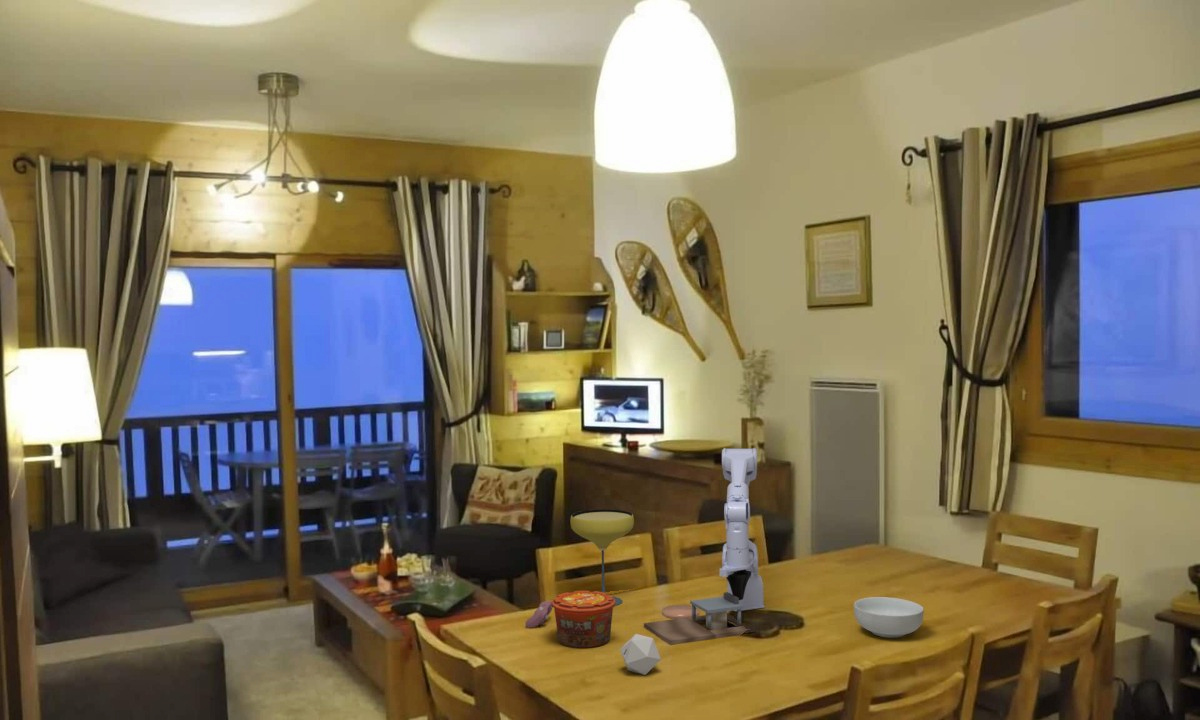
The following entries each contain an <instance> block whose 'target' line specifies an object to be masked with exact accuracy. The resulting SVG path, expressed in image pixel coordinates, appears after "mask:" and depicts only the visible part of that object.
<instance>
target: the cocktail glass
mask: <svg viewBox="0 0 1200 720" xmlns="http://www.w3.org/2000/svg"><path fill="white" fill-rule="evenodd" d="M569 521H570V528H571V530H572V531H573V532H574V533H575V534H577V535H578V536H580V537H581V538H583V539H586V540H587V541H590V542H591V543H592V544H594V545H595V546H596V547H597V549H598V550H600V551H601V591H600V592H604V593H607V592H606V586H605V585H606V583H605V582H606V581H605V550H607V548H609V545H611V544H612V543H613V542H615V541H616V540H618V539H620V538H622V537H624V536H625V535H627V534H628V533H630V532H631V531H632V529H633V528H634V524H635V519H634V514H633V512H631V511H627V510H621V509H612V508H611V509H608V508H607V509H606V508H605V509H604V508H603V509H601V508H600V509H598V508H597V509H587V510H581V511H580V510H579V511H576V512H574V513H572V514H571V516H570V520H569ZM613 598H614V600H615V601H616V603H615V605H617V606H619V605H621V604H622V603H623V599H622V598H620V597H618V598H617V596H613ZM620 603H621V604H620ZM618 604H619V605H618ZM615 605H614V607H616V606H615Z"/></svg>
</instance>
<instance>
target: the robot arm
mask: <svg viewBox="0 0 1200 720" xmlns="http://www.w3.org/2000/svg"><path fill="white" fill-rule="evenodd" d="M721 468H722V475H723V478H724V479H725V480H726V481H729V482H730V483H729V484H728V486H727V488H726V489H727V490H726V503H724V509H723V510H724V511H723V513H724V514H723V516H724V523H725V531H726V535H725V536H726V543H724V544H723V546H722V553H721V568H719V577H721V578H726V582H727V586H726V587H727V592H728V593H730V594H732V595H734V596H736V597H738V598H739V604H740V605H742V606H743V609H741V612H743V611H750V610H756V609H757V610H759V609H764V608H765V607H766V606H765V605H764V583H763V578H762V576H761V575H760V574H759V552H758V547H757V545H756V544H755V543H754V542H752V541H751V540H750V539H749V535H750V533H749V524H750V521H751V505H750V499H749V496H750V494H749V493H750V492H749V491H750V489H749V486H750V482H752V481H754V480H756V479H757V476H758V472H757V471H758V450H757V449H756V448H755V447H753V448H726V447H723V449H722V450H721ZM732 611H733V612H737V610H732Z"/></svg>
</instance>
